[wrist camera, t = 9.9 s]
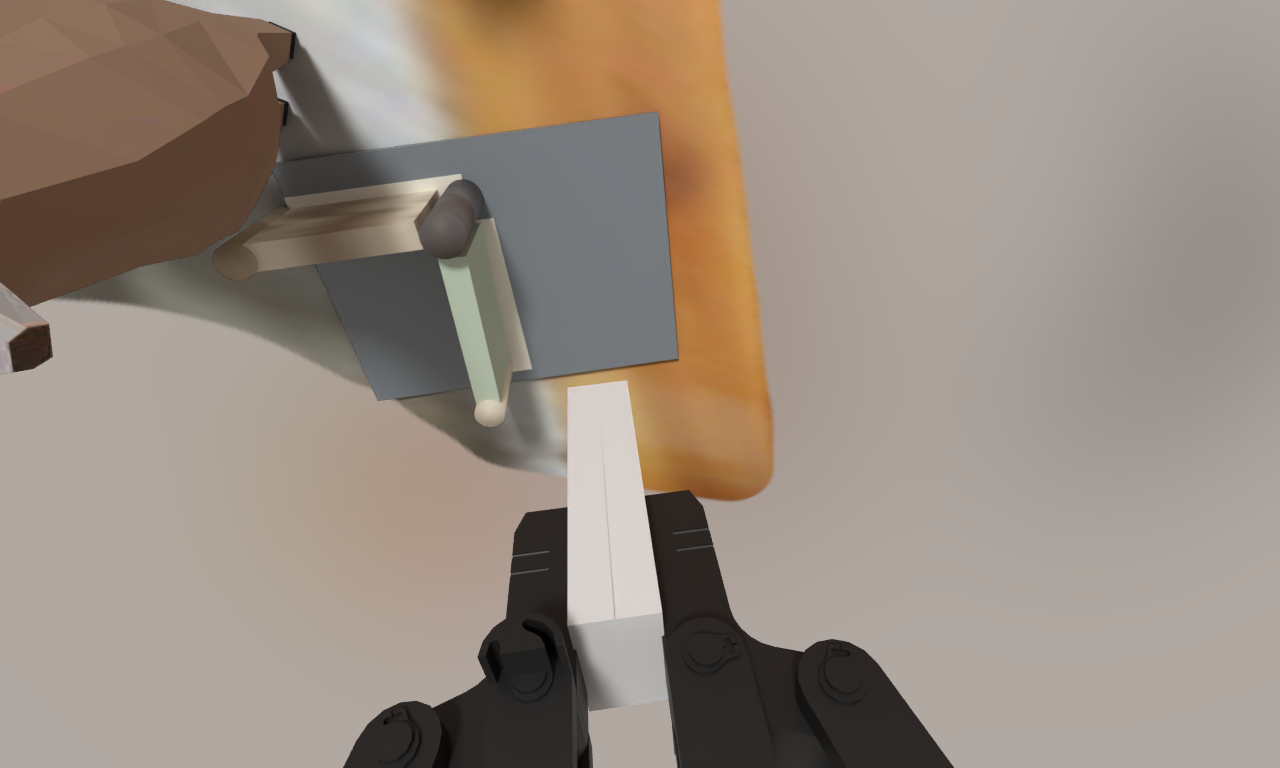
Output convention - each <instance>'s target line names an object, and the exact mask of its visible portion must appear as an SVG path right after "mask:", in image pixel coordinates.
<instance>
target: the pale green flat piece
mask: <svg viewBox="0 0 1280 768" xmlns="http://www.w3.org/2000/svg"><path fill="white" fill-rule="evenodd" d="M438 262H439V265H440V269H441V273H442V277H443V281H444V284H445V288H446V292H447V296H448V300H449V303H450V307H451V311H452V315H453V318H454V322H455V326H456V330H457V334H458V337H459V341H460V345H461V349H462V353H463V356H464V360H465V364H466V368H467V371H468V375H469V379H470V383H471V387H472V390H473V394H474V398H475V402H476V408H475V412H474V416H475V419H476V421H477V422H478V423H480V424H481V425H483V426H486V427H495V426H498V425H500V424H501V423H502V422H503V421H504V418H505V412H506V407H507V401H508V395H509V389H510V383H511V377H512V372H513V361H512V360H511V358H510V357H509V354H508V349H507V344H506V340H505V335H504V330H503V325H502V321H501V316H500V311H499V306H498V302H497V297H496V292H495V287H494V283H493V278H492V273H491V269H490V264H489V259H488V254H487V250H486V245H485V240H484V235H483V231H482V226H481V222H480V223H475V224H474V227H473V229H472V231H471V233H470V235H469V238H468V240H467V242H466V244H465V246H464V249H463V250H462V252H461V253H460V254H459V255H458V256H456V257H454V258H452V259H439V258H438Z"/></svg>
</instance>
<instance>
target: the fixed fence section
mask: <svg viewBox="0 0 1280 768" xmlns="http://www.w3.org/2000/svg"><path fill="white" fill-rule="evenodd" d="M483 203H484V198H483V194H482V192H481V190H480V188H479V187H478V186H477V185H476V184H475V183H473V182H471V181H469V180H466V179H461V180H456V181H453V182H452V183H450V184H449V185H448V187H447V188H446V190H445V191H444V193H443V194H442V196H441V197H440V196H439V193H438V189H435V190H428V191H421V192H413V193H406V194H398V195H391V196H384V197H376V198H369V199H362V200H354V201H347V202H339V203H332V204H325V205H317V206H310V207H303V208H295V209H289V208H288V207H277V208H275V209H274V210H272V211H271V212H269V213H268V214H266V215H265V216H264V217H262V218H261V219H259V220H258V221H256V222H255V223H253V224H252V225H251V226H249V227H248V228H246V229H245V230H243V231H242V232H240V233H239V234H238V235H236V236H235V237H233V238H232V239H230V240H229V241H227V242H226V243H225V244H223V245H222V246H220V247H219V248H217V249H216V250H215V251H214V253H213V256H212V260H213V264H214V266H215V268H216V269H217V270H218V271H219V272H220V273H221V274H222V275H223V276H225V277H227V278H229V279H231V280H235V281H244V280H247V279H249V278H250V277H251V276H252V275H254V274H255V273H256V272H262V271H270V270H277V269H284V268H291V267H299V266H306V265H313V264H321V263H328V262H335V261H342V260H350V259H357V258H364V257H371V256H379V255H386V254H393V253H401V252H408V251H415V250H422V249H425V250H426V251H427V252H428V253H429V254H430V255H432V256H434V257H436V258H439V259H452V258H454V257H456V256H458V255H459V254H460V253H461V252H462V250H463V249H464V246H465V244H466V242H467V240H468V238H469V235H470V233H471V231H472V229H473V227H474V224H475V222H476V220H477V218H478V215H479V213H480V211H481V209H482V206H483Z"/></svg>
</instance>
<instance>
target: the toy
mask: <svg viewBox="0 0 1280 768" xmlns="http://www.w3.org/2000/svg"><path fill="white" fill-rule="evenodd" d="M295 35H296V33H295V32H292V31H290V30H288V29H286V28H283V27H281V26H279V25H276V24H274V23H272V22H266V21H264V20H261V19H253V18H245V17H237V16H230V15H222V14H214V13H209V12H206V11H202V10H198V9H194V8H191V7H187V6H183V5H180V4H176V3H172V2H169V1H165V0H0V374H6V373H13V372H18V371H24V370H29V369H34V368H35V367H37V366H39V365H40V364H42V363H44V362H45V361H47V360H49V359H50V358H52V357H53V354H52V346H51V338H50V328H49V323H47V322H46V321H45V320H44V319H43V318H41V317H40V316H39V315H38V314H37V313H36V312H34V311H33V310H32V309H31V308H30V307H31V306H34V305H37V304H39V303H42V302H45V301H47V300H50V299H53V298H56V297H58V296H61V295H64V294H67V293H69V292H72V291H75V290H78V289H80V288H83V287H86V286H89V285H91V284H94V283H97V282H99V281H102V280H105V279H108V278H110V277H113V276H116V275H119V274H121V273H124V272H127V271H130V270H132V269H135V268H138V267H141V266H145V265H150V264H155V263H160V262H164V261H169V260H174V259H178V258H183V257H188V256H192V255H197V254H199V253H200V252H202V251H203V250H205V249H206V248H208V247H209V246H211V245H212V244H214V243H215V242H217V241H219V240H221V239H223V238H225V237H227V236H229V235H231V234H233V233H235V232H237V231H239V229H240V227H241V226H242V224H243V223H244V221H245V220H246V218H247V217H248V215H249V214H250V212H251V211H252V209H253V208H254V206H255V205H256V203H257V201H258V199H259V197H260V195H261V193H262V191H263V189H264V187H265V185H266V183H267V181H268V179H269V177H270V175H271V173H272V171H273V169H274V167H275V165H276V159H277V154H278V148H279V143H280V131H281V130H282V126H286V119H287V110H288V102H287V101H284V100H282V99H279V98H277V93H276V88H275V83H274V78H273V73H272V72H273V71H275V70H276V69H278V68H280V67H281V66H283V65H285V64H287V63H288V62H289V59H293V54H294V44H295Z"/></svg>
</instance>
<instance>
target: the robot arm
mask: <svg viewBox="0 0 1280 768" xmlns="http://www.w3.org/2000/svg"><path fill="white" fill-rule="evenodd" d="M478 659H479V662H480V664H481V666H482V668H483V671H484V673H485V675H486V678H484V679H483V680H482V681H481V682H480V683H479V684H478V685H476V686H475V687H473V688H471V689H470V690H468V691H467V692H465V693H463V694H461V695H459V696H456V697H454V698H453V699H450V700H448V701H446V702H444V703H442V704H440V705H438V706H436V707H434V708H431V706H429V705H427V704H424V703H421V702H418V701H411V702H401V703H398V704H396V705H394V706H392V707H390V708H388V709H386V710H384V711H382V712H381V713H380V714H379V715H378V716H377V717H375V718H374V719H373V720H372V721H371V722H370V723H369V724H368V725H367V726H366V728H365V729H364V731H363V732H362V734H361V735H360V737H359V738H358V739H357V741H356V743H355V745H354V747H353V749H352V751H351V753H350V755H349V757H348V759H347V761H346V763H345V765H344V767H343V768H593V761H592V760H593V759H592V745H591V740H590V736H589V732H588V708H589V711H594V710H601V709H608V708H614V707H621V706H628V705H635V704H642V703H649V702H655V701H662V700H669V706H670V713H671V719H672V730H673V740H674V751H675V754H676V760H677V768H954V767H953V766H952V764H951V763H950V761H949V760H948V759H947V757H946V756H945V755H944V754H943V752H942V751H941V749H940V748H939V746H938V745H937V744H936V742H935V741H934V740H933V738H932V737H931V736H930V734H929V733H928V731H927V730H926V729H925V727H924V726H923V725H922V723H921V722H920V721H919V719H918V718H917V716H916V715H915V714H914V712H913V711H912V710H911V708H910V707H909V706H908V704H907V703H906V701H905V700H904V699H903V697H902V696H901V695H900V693H899V692H898V691H897V689H896V688H895V686H894V685H893V684H892V682H891V681H890V680H889V678H888V677H887V676H886V674H885V673H884V671H883V670H882V669H881V667H880V666H879V665H878V663H876V661H875V660H873V658H872V657H871V656H870V655H869V654H867V653H866V651H864V650H863V649H861V648H859V647H857V646H855V645H853V644H851V643H849V642H845V641H839V640H834V639H830V640H825V641H819V642H816V643H815V644H813V645H812V646H810V647H809V648H808V649H806V650H805V652H800V651H795V650H789V649H783V648H778V647H774V646H770V645H767V644H763V643H761V642H759V641H757V640H756V639H754V638H752V637H750V636H749V635H748V634H747V633H746V632H745V631H743V630H742V629H741V628H740V626H739V625H738V624H737V622H736V621H735V619H734V618H733V615H732V612H731V610H730V607H729V603H728V599H727V595H726V592H725V588H724V584H723V580H722V576H721V573H720V569H719V565H718V561H717V557H716V554H715V550H714V548H713V543H712V538H711V535H710V531H709V528H708V524H707V520H706V516H705V512H704V508H703V506H702V505H701V504H700V502H699V501H698V500H697V499H696V498H695V497H694V495H693V494H692V493H691V492H690V491H689V490H685V491H678V492H670V493H662V494H655V495H647V496H644V490H643V483H642V476H641V470H640V463H639V457H638V450H637V444H636V437H635V430H634V424H633V417H632V411H631V404H630V398H629V391H628V385H627V381H619V382H611V383H602V384H594V385H586V386H578V387H570V388H568V507H566V508H558V509H550V510H543V511H536V512H528V513H526V514H525V516H524V517H523V519H522V521H521V522H520V524H519V526H518V528H517V529H516V531H515V534H514V544H513V559H512V563H511V577H510V583H509V594H508V604H507V614H506V619H505V620H503V621H502V622H501V623H499V624H498V625H496V626H495V627H494V628H493V629H492V630H491V631H490V633H489V634H488V635H487V637H486V638H485V639H484V641H483V642H482V645H481V649H480V652H479V655H478Z"/></svg>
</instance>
